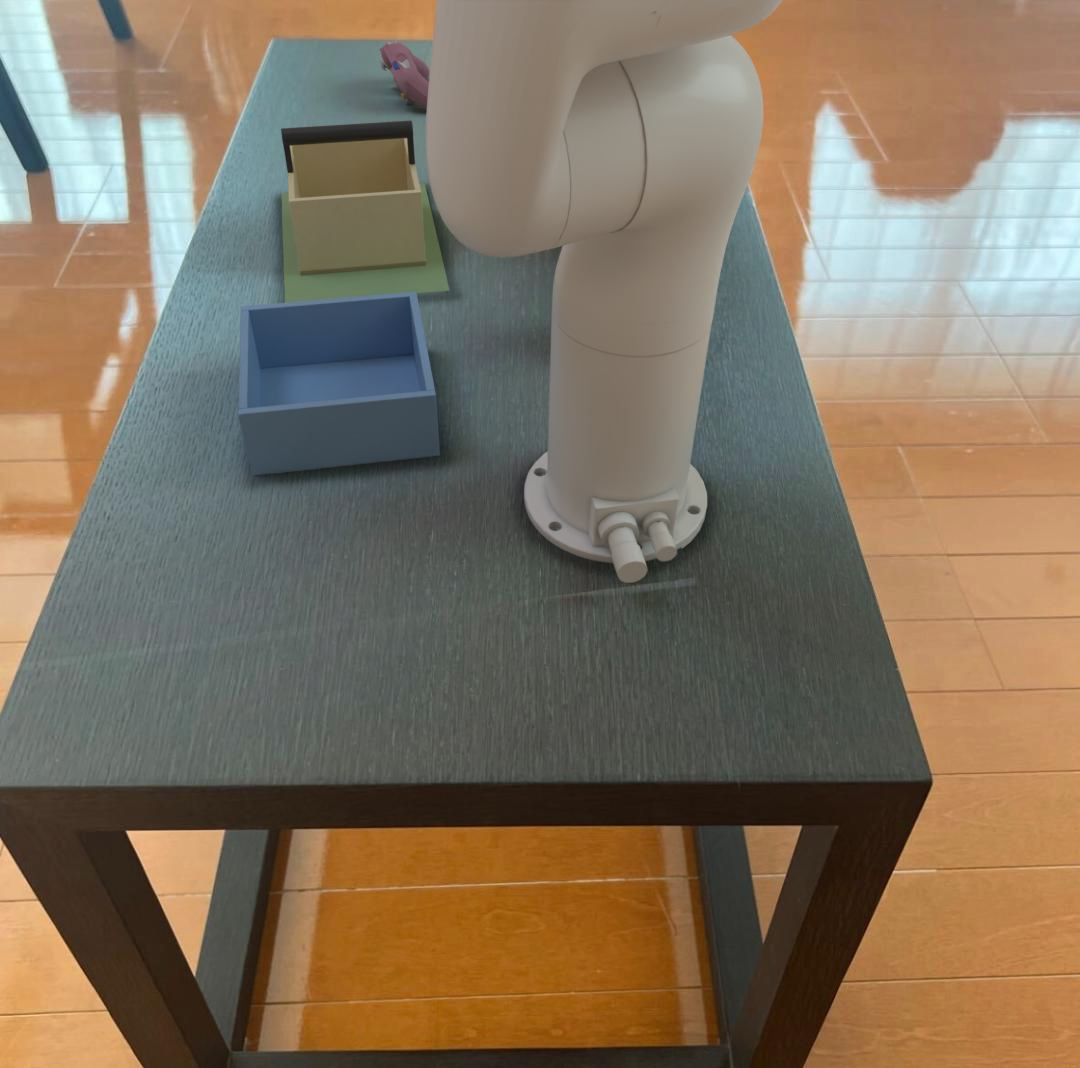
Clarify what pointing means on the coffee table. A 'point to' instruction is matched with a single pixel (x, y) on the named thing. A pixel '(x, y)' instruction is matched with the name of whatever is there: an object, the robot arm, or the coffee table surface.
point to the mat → (364, 280)
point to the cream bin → (354, 197)
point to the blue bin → (335, 383)
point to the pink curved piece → (406, 72)
